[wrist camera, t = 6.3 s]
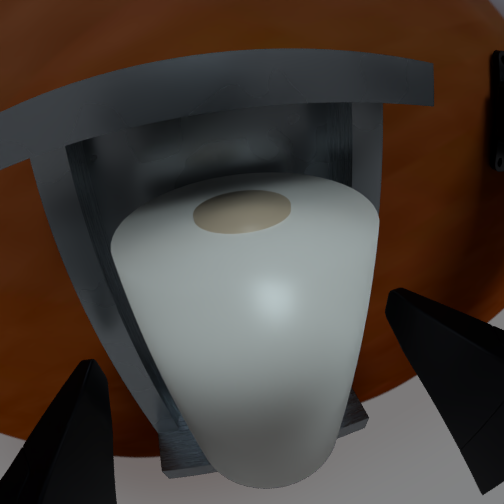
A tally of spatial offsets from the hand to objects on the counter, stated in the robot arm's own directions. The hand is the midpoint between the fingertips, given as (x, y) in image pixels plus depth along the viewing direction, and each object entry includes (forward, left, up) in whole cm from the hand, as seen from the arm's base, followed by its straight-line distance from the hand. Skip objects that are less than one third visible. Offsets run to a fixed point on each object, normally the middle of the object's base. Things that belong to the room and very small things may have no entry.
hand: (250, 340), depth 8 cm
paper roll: (+1, +1, -2) cm, 3 cm away
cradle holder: (0, 0, -4) cm, 4 cm away
